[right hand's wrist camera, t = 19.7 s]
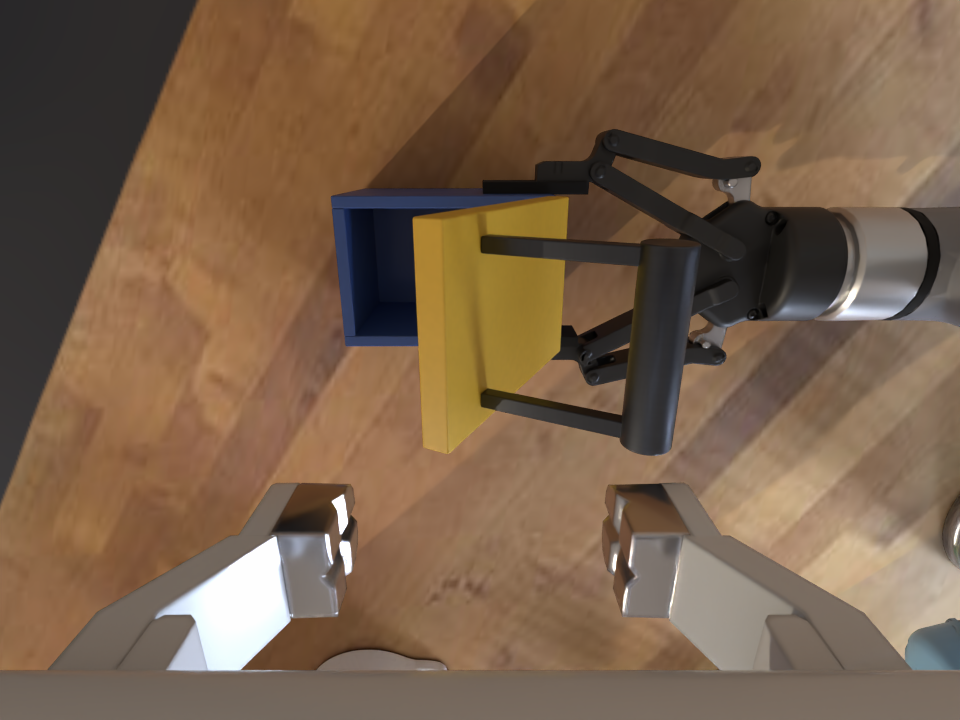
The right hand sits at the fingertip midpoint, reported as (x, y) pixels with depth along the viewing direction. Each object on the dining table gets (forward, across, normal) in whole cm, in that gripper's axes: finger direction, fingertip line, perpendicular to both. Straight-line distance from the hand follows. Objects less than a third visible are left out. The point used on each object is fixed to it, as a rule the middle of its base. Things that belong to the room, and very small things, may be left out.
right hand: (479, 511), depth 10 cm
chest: (+33, +2, 0) cm, 33 cm away
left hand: (+26, 0, 0) cm, 26 cm away
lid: (+17, -1, 0) cm, 17 cm away
